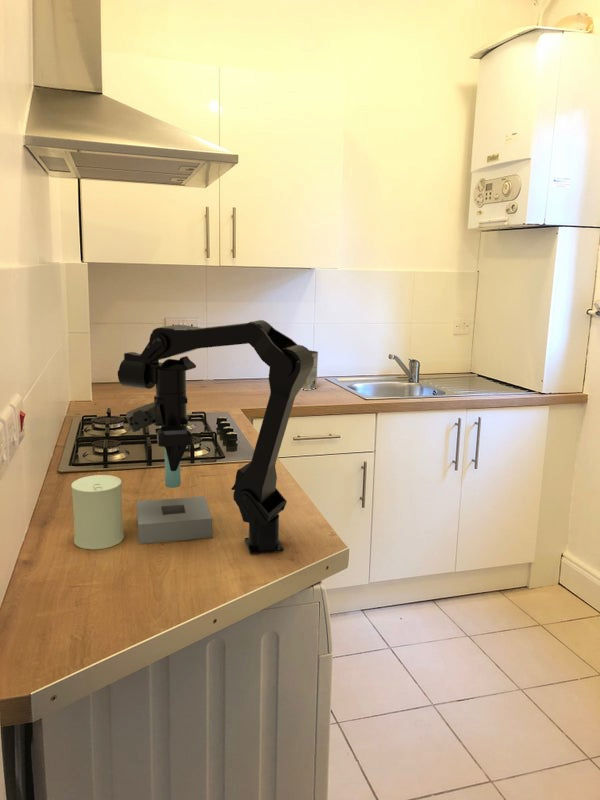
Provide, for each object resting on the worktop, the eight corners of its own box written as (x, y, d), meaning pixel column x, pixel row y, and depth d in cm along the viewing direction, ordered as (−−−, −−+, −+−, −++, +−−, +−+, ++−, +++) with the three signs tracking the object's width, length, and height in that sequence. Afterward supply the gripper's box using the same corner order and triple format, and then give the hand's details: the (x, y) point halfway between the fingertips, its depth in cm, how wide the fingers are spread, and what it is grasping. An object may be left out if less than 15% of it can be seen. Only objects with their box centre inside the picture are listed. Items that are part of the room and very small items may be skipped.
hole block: (212, 537, 126) (212, 518, 125) (139, 544, 123) (138, 524, 122) (204, 513, 138) (204, 496, 137) (137, 519, 134) (136, 501, 133)
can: (76, 553, 119) (72, 491, 116) (72, 533, 127) (68, 475, 124) (127, 545, 122) (125, 485, 120) (120, 526, 130) (117, 470, 128)
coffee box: (290, 388, 271) (291, 349, 267) (300, 385, 275) (301, 348, 272) (307, 391, 265) (308, 352, 261) (317, 389, 270) (318, 350, 266)
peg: (181, 487, 127) (180, 438, 125) (165, 488, 126) (164, 439, 124) (180, 481, 130) (179, 434, 128) (164, 483, 129) (163, 435, 127)
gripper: (127, 383, 131) (130, 456, 134) (128, 403, 113) (131, 487, 117) (182, 381, 134) (184, 453, 137) (192, 401, 116) (193, 483, 119)
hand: (172, 468), depth 127 cm, fingers closed on peg, 3 cm apart
